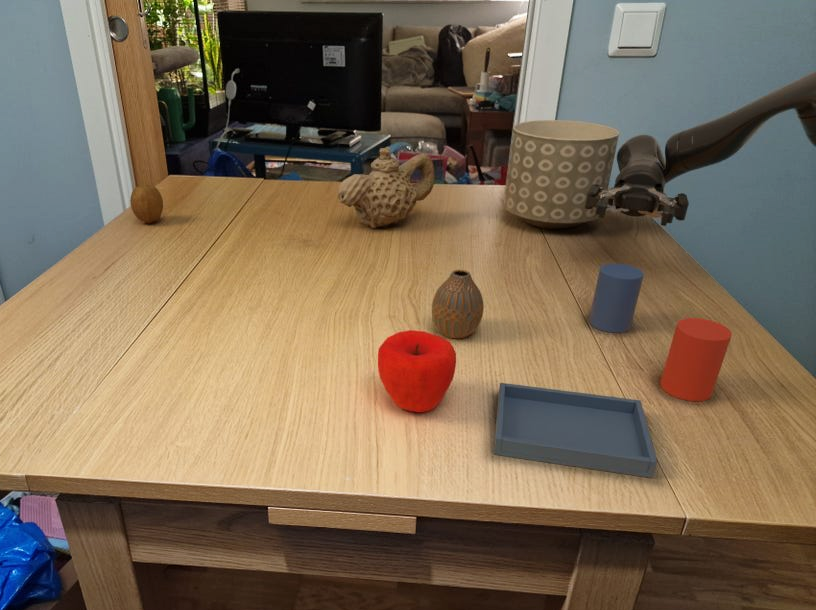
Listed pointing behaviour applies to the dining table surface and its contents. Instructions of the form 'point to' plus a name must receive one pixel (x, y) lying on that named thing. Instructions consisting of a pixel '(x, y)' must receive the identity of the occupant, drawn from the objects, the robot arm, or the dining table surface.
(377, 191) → the teapot
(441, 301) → the vase
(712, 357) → the red canister
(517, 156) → the planter
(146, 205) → the fruit
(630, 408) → the blue tray
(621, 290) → the blue canister
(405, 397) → the apple
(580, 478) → the dining table surface
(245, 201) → the dining table surface
